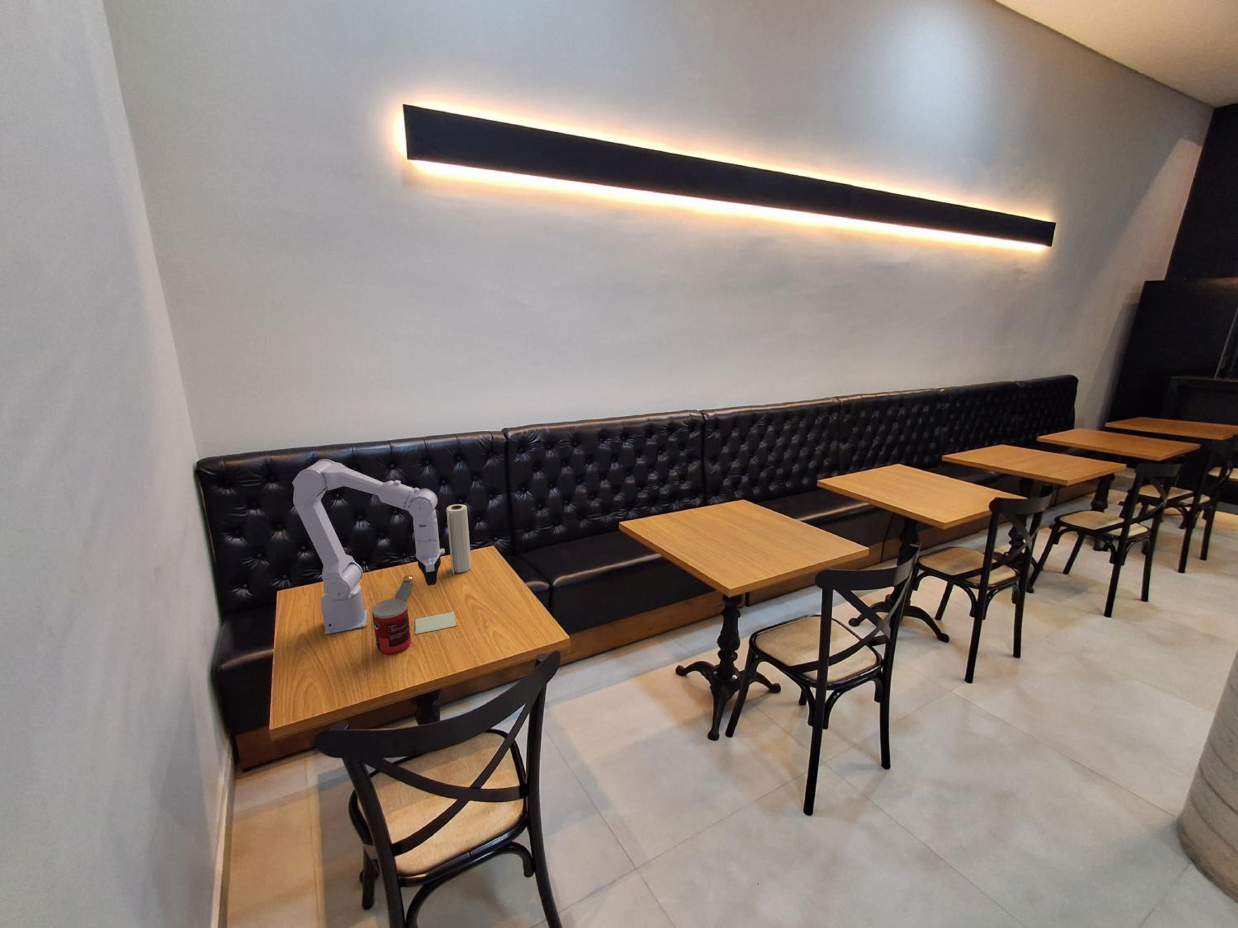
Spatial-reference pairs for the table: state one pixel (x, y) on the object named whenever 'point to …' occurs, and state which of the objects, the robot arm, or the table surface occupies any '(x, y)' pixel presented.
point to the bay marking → (435, 622)
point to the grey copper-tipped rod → (405, 588)
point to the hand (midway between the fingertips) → (431, 583)
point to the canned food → (391, 626)
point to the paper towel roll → (458, 538)
